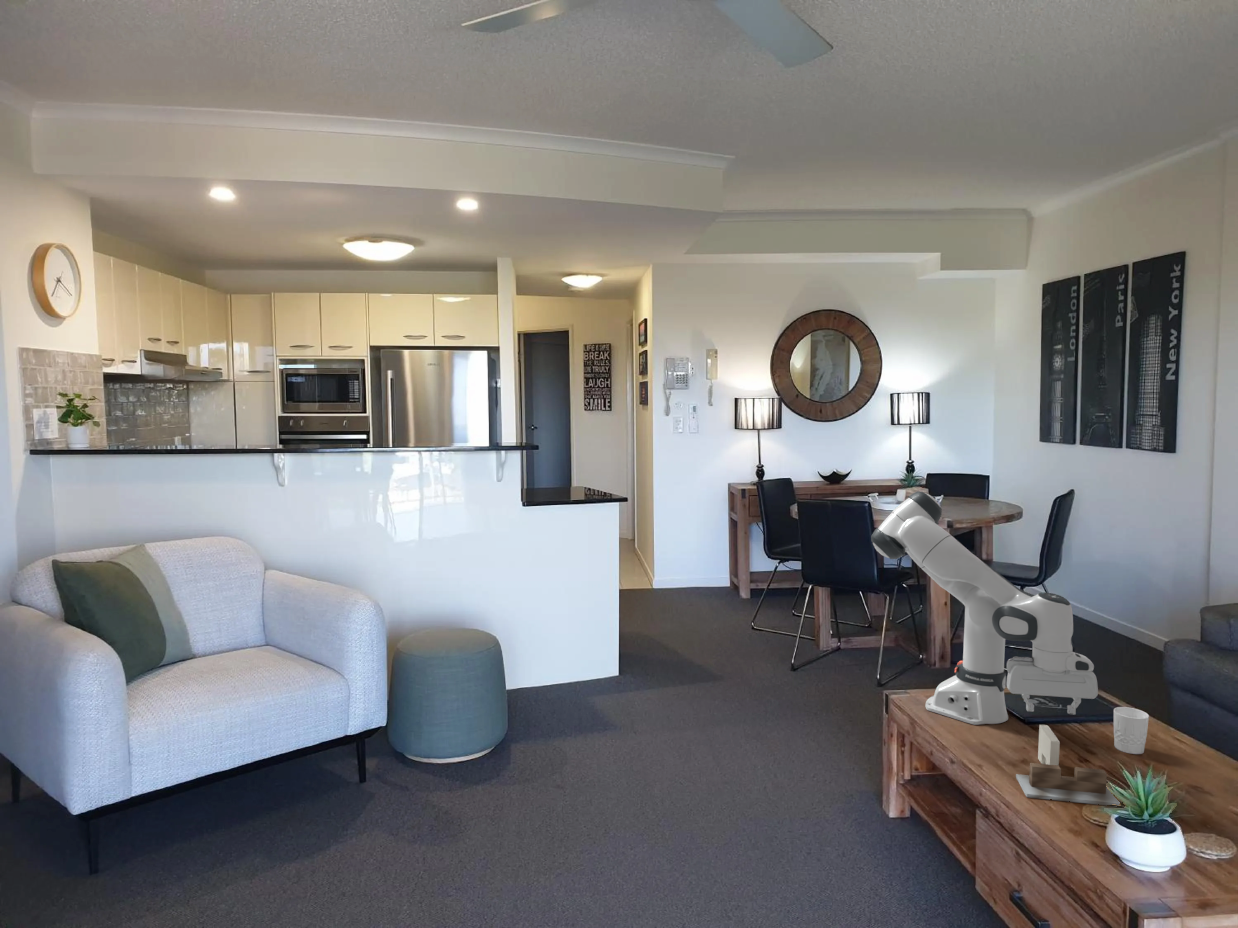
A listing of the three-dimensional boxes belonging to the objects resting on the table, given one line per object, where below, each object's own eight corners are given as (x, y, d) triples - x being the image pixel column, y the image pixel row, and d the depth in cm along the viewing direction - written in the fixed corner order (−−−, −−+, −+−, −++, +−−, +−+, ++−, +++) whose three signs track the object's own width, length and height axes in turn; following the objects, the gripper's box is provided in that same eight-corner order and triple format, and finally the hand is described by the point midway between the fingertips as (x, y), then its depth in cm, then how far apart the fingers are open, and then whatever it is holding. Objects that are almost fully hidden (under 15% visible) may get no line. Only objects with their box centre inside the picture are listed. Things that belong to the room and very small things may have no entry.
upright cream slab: (1058, 776, 197) (1059, 741, 196) (1049, 775, 198) (1050, 740, 197) (1046, 758, 207) (1047, 725, 206) (1037, 757, 207) (1039, 724, 206)
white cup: (1152, 756, 208) (1154, 719, 207) (1118, 753, 209) (1120, 717, 208) (1139, 743, 215) (1141, 707, 215) (1106, 741, 217) (1108, 705, 216)
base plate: (1026, 796, 187) (1027, 773, 187) (1015, 776, 197) (1016, 754, 196) (1121, 806, 183) (1122, 782, 182) (1105, 785, 192) (1107, 762, 192)
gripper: (1009, 659, 199) (1008, 713, 200) (1101, 665, 194) (1099, 720, 195) (1004, 652, 205) (1002, 704, 206) (1092, 656, 200) (1090, 710, 201)
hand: (1050, 712), depth 201 cm, fingers open, 8 cm apart
